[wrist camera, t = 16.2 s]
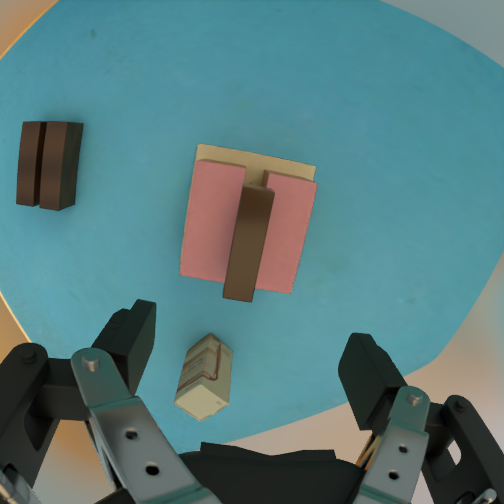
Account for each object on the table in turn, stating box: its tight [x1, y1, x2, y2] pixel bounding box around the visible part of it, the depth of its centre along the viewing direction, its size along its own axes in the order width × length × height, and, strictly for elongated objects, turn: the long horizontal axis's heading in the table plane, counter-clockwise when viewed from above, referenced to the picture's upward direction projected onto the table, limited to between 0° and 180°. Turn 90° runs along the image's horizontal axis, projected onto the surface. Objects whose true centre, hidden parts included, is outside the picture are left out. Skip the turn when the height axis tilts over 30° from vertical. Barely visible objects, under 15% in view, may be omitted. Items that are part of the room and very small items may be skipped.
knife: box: [222, 181, 275, 302], centre depth 29 cm, size 9×2×11 cm, turn 169°
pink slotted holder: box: [180, 144, 318, 294], centre depth 32 cm, size 14×13×7 cm
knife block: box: [16, 121, 84, 211], centre depth 30 cm, size 10×7×4 cm
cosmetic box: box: [174, 334, 233, 421], centre depth 36 cm, size 5×4×10 cm
